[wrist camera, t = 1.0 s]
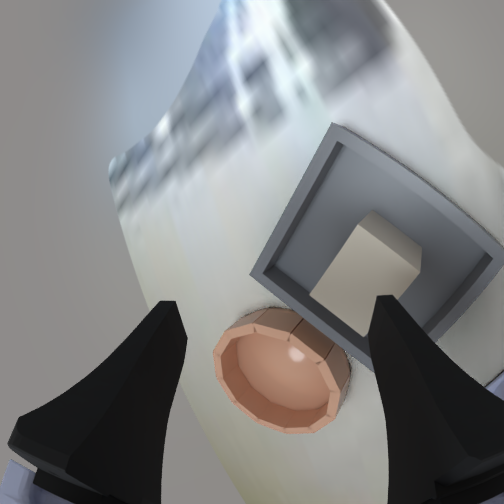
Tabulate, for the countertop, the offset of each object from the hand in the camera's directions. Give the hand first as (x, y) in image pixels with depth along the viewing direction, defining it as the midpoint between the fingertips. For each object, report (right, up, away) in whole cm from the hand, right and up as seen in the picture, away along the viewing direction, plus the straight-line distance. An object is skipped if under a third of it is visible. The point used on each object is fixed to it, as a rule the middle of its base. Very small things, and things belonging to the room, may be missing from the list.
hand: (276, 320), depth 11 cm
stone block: (+7, +2, +8) cm, 11 cm away
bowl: (+2, -8, +15) cm, 17 cm away
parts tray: (+7, +2, +9) cm, 12 cm away
